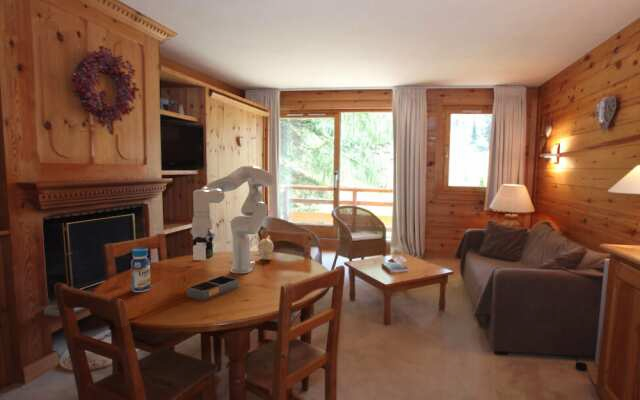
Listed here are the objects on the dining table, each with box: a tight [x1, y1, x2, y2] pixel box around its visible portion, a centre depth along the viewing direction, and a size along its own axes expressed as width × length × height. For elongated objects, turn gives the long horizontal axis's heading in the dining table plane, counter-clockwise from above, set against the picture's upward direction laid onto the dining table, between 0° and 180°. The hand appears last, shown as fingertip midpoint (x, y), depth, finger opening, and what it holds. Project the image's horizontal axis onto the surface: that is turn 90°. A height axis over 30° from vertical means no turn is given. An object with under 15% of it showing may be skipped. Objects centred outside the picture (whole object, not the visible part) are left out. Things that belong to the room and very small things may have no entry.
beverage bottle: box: [130, 247, 152, 293], centre depth 176 cm, size 8×8×20 cm
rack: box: [186, 275, 239, 302], centre depth 175 cm, size 22×12×4 cm, turn 149°
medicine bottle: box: [192, 235, 214, 261], centre depth 185 cm, size 7×7×12 cm
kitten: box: [257, 235, 275, 261], centre depth 236 cm, size 15×10×15 cm
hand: (202, 248), depth 185 cm, fingers closed on medicine bottle, 8 cm apart
